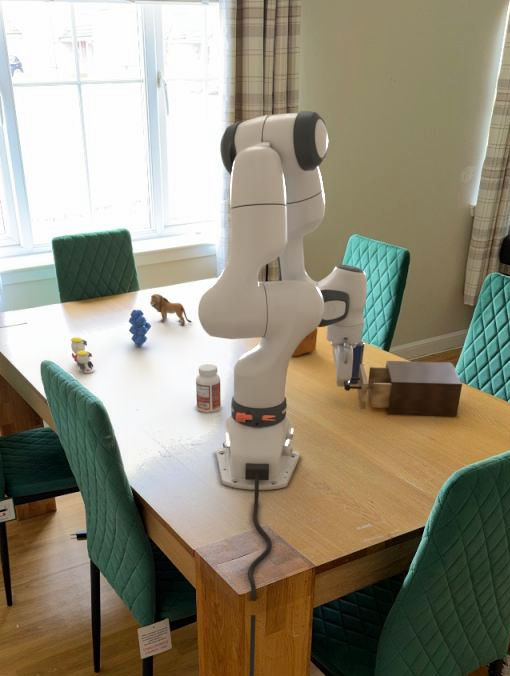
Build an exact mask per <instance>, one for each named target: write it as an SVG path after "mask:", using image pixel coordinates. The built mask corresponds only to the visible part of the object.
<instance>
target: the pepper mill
mask: <svg viewBox="0 0 510 676" xmlns="http://www.w3.org/2000/svg"><path fill="white" fill-rule="evenodd" d="M364 352H365V342H364V341H363V340H362V341H361V342H359V343H357V344H356V347H355V348H353V366H352V377H359V368H360V364H363V362H364V361H363V360H364ZM355 384H358V380H350V385H355Z"/></svg>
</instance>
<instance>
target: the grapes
mask: <svg viewBox="0 0 510 676" xmlns="http://www.w3.org/2000/svg"><path fill="white" fill-rule="evenodd" d="M147 320H148V319H147V318H146V317H145V316H144V312H143V311H142V310H141V309H139V308H137V309H133V310H132V311H131V312H130V317H129V320H128V322H129V324H130V325H131V326H130V328H129V330H128V331H129V332H130V334H131V335H132V336H131V338H130V340H131V341H132V342H133V343H134V344H135V345H136V346H137V347H139V348H141V347H142V346H143V345H144V344H145V343H146V342H147V340H148V337H147V336H146V334H147V333H148V331H150V329H151V327H152V325H151V324H150V322H148V321H147Z"/></svg>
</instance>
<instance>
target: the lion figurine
mask: <svg viewBox="0 0 510 676" xmlns="http://www.w3.org/2000/svg"><path fill="white" fill-rule="evenodd" d="M149 305H150V306H151V307H152V308H153V309H155V310H156V312H158V313H160V316H161V319H160V323H164V322H165V321H166V320H167V319H168V314H170V315H173V314H175V315H176V316H177V317H178V318H179V319H178V322H180V325H181V326H184V325H185V324H186V321H187V322H188V323H192V320H190V319H188V317H187V313H186V310H185V307H184V306H183V304H182V303H180V302H170V301H169V300H168V299H167V298H166V297H163V295H161V294H159V293H154V294H152V295H151V298H150V304H149ZM183 315H184V316H183ZM185 320H186V321H185Z"/></svg>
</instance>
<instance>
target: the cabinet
mask: <svg viewBox="0 0 510 676" xmlns="http://www.w3.org/2000/svg"><path fill="white" fill-rule="evenodd" d="M385 367H387V369H388V373H389V376H390V380H391V392H390V400H389V408H386V412H387V415H389V416H412V417H413V416H415V417H444V418H445V417H447V418H449V417H450V418H457V416H458V410H459V405H460V398H461V394H462V389H463V388H462V387H463V382H462V381H461V380H462V379H460V376H459V374H458V373H457V370H456V368H455V366H454V364H453V362H443V361H442V362H441V361H437V362H436V361H407V360H404V361H402V360H386V362H385Z"/></svg>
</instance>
